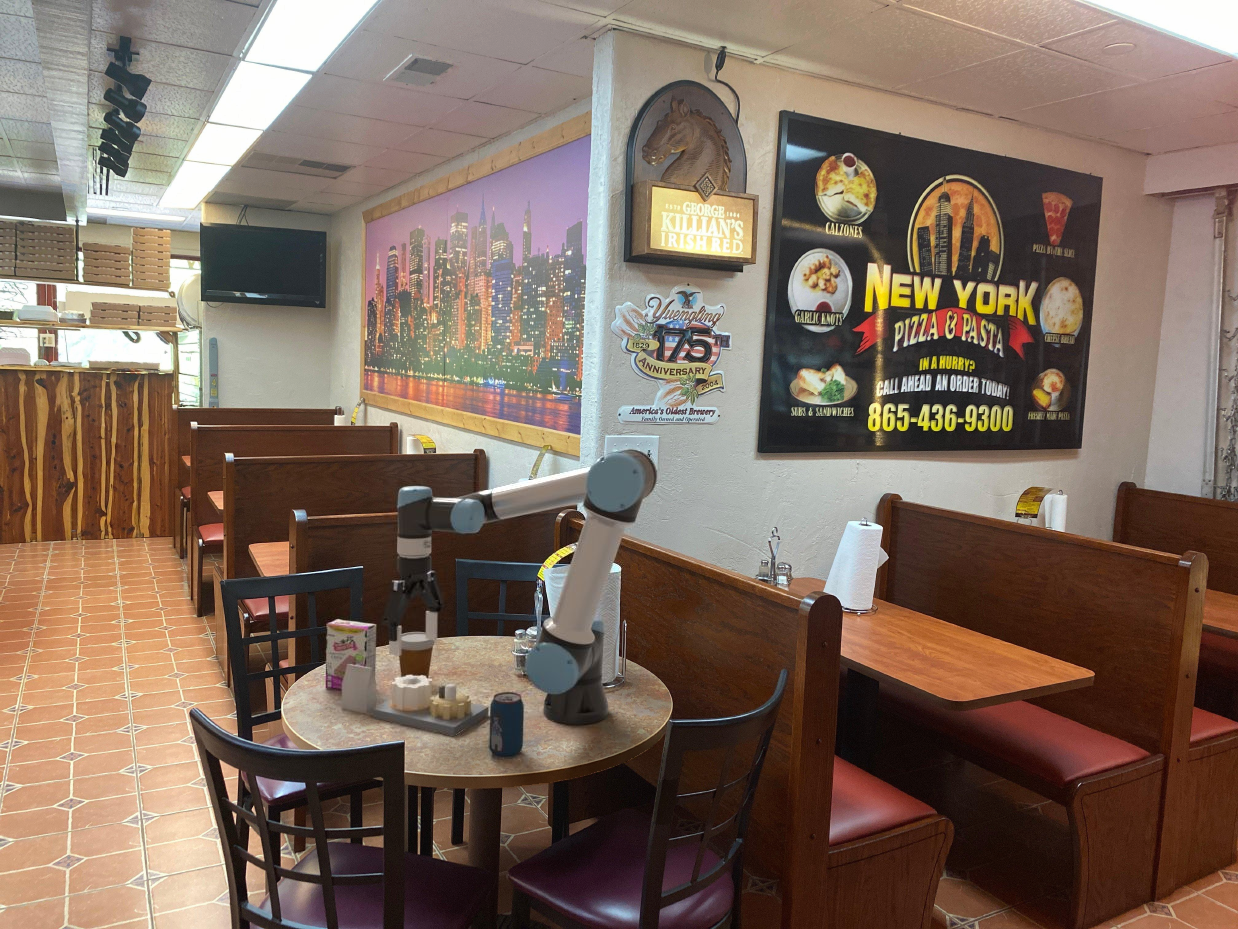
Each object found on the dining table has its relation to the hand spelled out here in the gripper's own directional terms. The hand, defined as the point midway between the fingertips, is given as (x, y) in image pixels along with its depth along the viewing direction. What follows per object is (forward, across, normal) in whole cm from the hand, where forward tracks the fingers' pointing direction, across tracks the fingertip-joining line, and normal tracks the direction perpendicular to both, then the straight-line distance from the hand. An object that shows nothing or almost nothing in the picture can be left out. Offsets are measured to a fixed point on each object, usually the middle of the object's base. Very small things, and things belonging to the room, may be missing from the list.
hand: (413, 646), depth 201 cm
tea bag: (+15, -4, +12) cm, 20 cm away
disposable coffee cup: (+16, +16, +11) cm, 25 cm away
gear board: (+16, 0, -5) cm, 16 cm away
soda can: (+16, -9, -30) cm, 35 cm away
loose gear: (+13, 0, 0) cm, 13 cm away
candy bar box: (+15, +5, +22) cm, 27 cm away
